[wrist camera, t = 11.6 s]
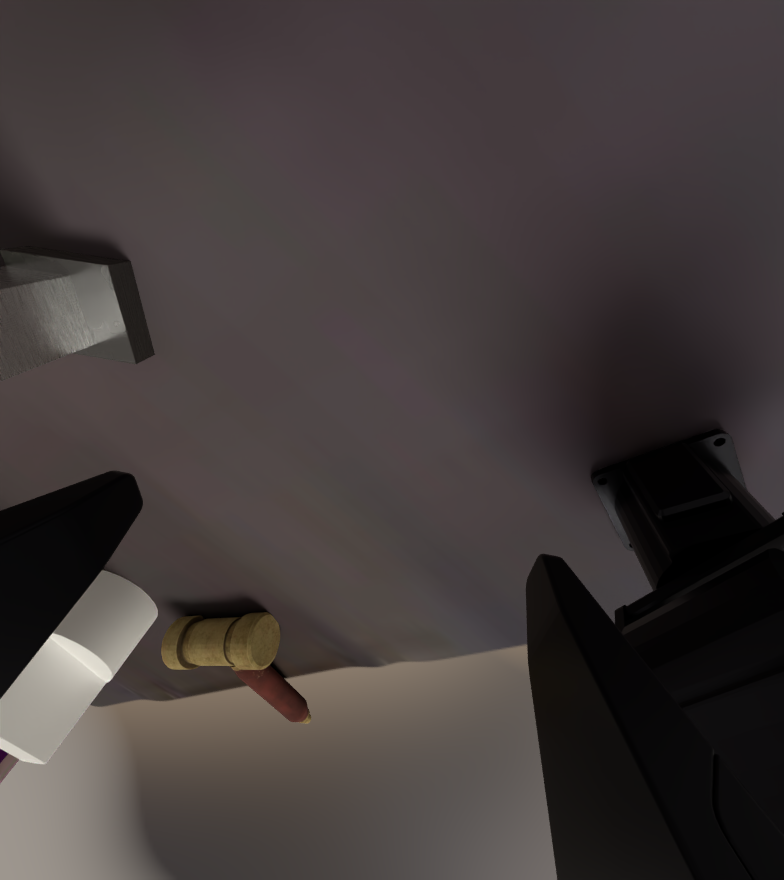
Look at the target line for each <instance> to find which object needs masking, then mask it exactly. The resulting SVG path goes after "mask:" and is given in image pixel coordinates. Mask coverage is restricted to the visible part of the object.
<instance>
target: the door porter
mask: <svg viewBox="0 0 784 880" xmlns="http://www.w3.org/2000/svg"><path fill="white" fill-rule="evenodd" d="M0 253H1V256H2V258H3V260H4V263H5V265H6V266H3V267H0V381H3V380H5V379H8V378H10V377H13V376H16V375H18V374H21V373H23V372H26V371H28V370H31V369H33V368H36V367H38V366H41V365H43V364H46V363H49V362H51V361H54V360H56V359H59V358H61V357H64V356H66V355H69V354H71V353H74V354H79V355H85V356H91V357H97V358H103V359H109V360H115V361H120V362H126V363H132V364H137V363H139V362H141V361H143V360H145V359H147V358H149V357H151V356H153V355H155V354H154V350H153V346H152V343H151V339H150V335H149V331H148V327H147V323H146V319H145V315H144V311H143V308H142V304H141V300H140V296H139V292H138V288H137V284H136V280H135V277H134V273H133V269H132V265H131V261H125V260H118V259H111V258H105V257H98V256H91V255H84V254H78V253H71V252H64V251H57V250H50V249H44V248H37V247H30V246H26V247H17V248H8V249H0Z"/></svg>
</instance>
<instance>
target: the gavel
mask: <svg viewBox="0 0 784 880" xmlns="http://www.w3.org/2000/svg"><path fill="white" fill-rule="evenodd" d="M279 642H280V628H279V624H278V623H277V621H276V620H275V619H274V617H273V616H272V615H271V614H270V613H268V612H261V613H249V614H246V615H245V616H243V617H233V618H212V619H204V618H203V617H202V616H185V617H181V618H179V619H177V620H176V621H175V622H174V623H173V624H172V625H171V626H170V627H169V629H168V630H167V632H166V634H165V636H164V639H163V642H162V649H161V652H162V658H163V661H164V663H165V664H166V666H167V667H169V668H171V669H195V668H197V667H199V666H230V667H231V668H232V669H233V670H234V672H235V673H236V675H237V676H238V677H239V678H240V679H241V680H242V681H243V682H244V683H246V684H247V685H248V686H249V687H250V688H252V689H253V690H254V691H255V692H256V693H257V694H259V695H260V696H261V697H262V698H263V699H264V700H266V701H267V702H268V703H269V704H270V705H272V706H273V707H274V708H275V709H276V710H277V711H279V712H280V713H281V714H282V715H283V716H284V717H286V718H287V719H288V720H289V721H291V722H300V723H309V722H310V720H311V715H310V714H309V713H310V712H309V709H308V707H307V702H306V700H305V699H304V698H303V697H302V696H301V695H300V694H299V693H298V692H297V691H296V690H295V689H294V688H293V687H292V686H291V685H290V684H289V683H288V682H287V681H286V680H285V679H284V678H283V677H282V676H281V675H280V674H279V673H278V672H276V671H275V670H274V669H273V668H272V667H271V666H270V664H271V662H272V661H273V659H274V658H275V655H276V653H277V650H278V647H279Z"/></svg>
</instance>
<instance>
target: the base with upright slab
mask: <svg viewBox="0 0 784 880" xmlns="http://www.w3.org/2000/svg"><path fill="white" fill-rule="evenodd" d="M157 616H158V610H157V608H156V605H155V603H154V602H153V601H152V599H151V598H150V597H149V596H148V595H147V594H146V593H145V592H144V591H143V590H142V589H141V588H139V587H138V586H136V585H135V584H133V583H132V582H130V581H128V580H127V579H125V578H123V577H121V576H119V575H116V574H113V573H111V572H108V571H104V570H102V571H101V572H100V573H99V575H98V576H97V577H96V579H95V580H94V581H93V583H92V584H91V585H90V586H89V588H88V589H87V590H86V591H85V593H84V594H83V595H82V597H81V598H80V599H79V600H78V602H77V603H76V604H75V605H74V607H73V608H72V609H71V610H70V612H69V613H68V614H67V616H66V617H65V618H64V619H63V621H62V622H61V623H60V624H59V626H58V627H57V628H56V629H55V631H54V632H53V633H52V635H51V636H50V637H49V638H48V640H47V641H46V642H45V643H44V645H43V646H42V647H41V648H40V650H39V651H38V652H37V653H36V655H35V656H34V657H33V659H32V660H31V661H30V662H29V664H28V665H27V666H26V667H25V669H24V670H23V671H22V672H21V674H20V675H19V676H18V678H17V679H16V680H15V681H14V683H13V684H12V685H11V686H10V688H9V689H8V690H7V691H6V693H5V694H4V695H3V697H2V698H1V699H0V749H2V750H3V751H5V752H7V753H9V754H11V755H12V756H14V757H16V758H18V759H20V760H22V761H25V762H31V763H36V764H46V763H47V762H48V761H49V759H50V758H51V757H52V755H53V754H54V753H55V751H56V750H57V749H58V747H59V746H60V744H61V743H62V742H63V741H64V739H65V738H66V736H67V735H68V734H69V732H70V731H71V730H72V728H73V727H74V726H75V724H76V723H77V722H78V720H79V719H80V718H81V716H82V715H83V714H84V712H85V711H86V709H87V708H88V707H89V705H90V704H91V703H92V701H93V700H94V699H95V697H96V696H97V695H98V693H99V692H100V691H101V689H102V688H103V687H104V685H105V684H106V683H107V682H109V681H111V679H112V678H113V676H114V675H115V674H116V672H117V671H118V670H119V668H120V667H121V666H122V664H123V663H124V661H125V660H126V659H127V657H128V656H129V655H130V653H131V652H132V651H133V649H134V648H135V647H136V645H137V644H138V642H139V641H140V640H141V638H142V637H143V636H144V634H145V633H146V632H147V630H148V629H149V627H150V626H151V625H152V623H153V622H154V621H155V619H156V618H157Z"/></svg>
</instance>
